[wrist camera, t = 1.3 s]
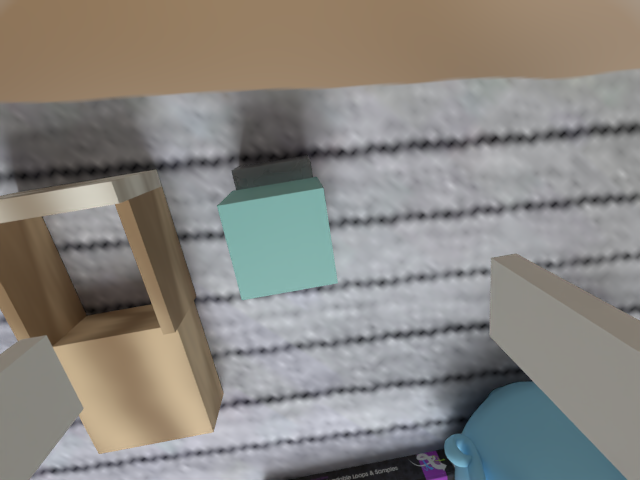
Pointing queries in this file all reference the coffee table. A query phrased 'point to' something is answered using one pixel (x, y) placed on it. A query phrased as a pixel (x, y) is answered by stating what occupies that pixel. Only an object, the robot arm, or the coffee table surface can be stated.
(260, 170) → the dark grey block
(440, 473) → the box
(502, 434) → the decorative pot
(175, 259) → the drawer
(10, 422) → the robot arm
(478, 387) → the coffee table surface
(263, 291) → the block
